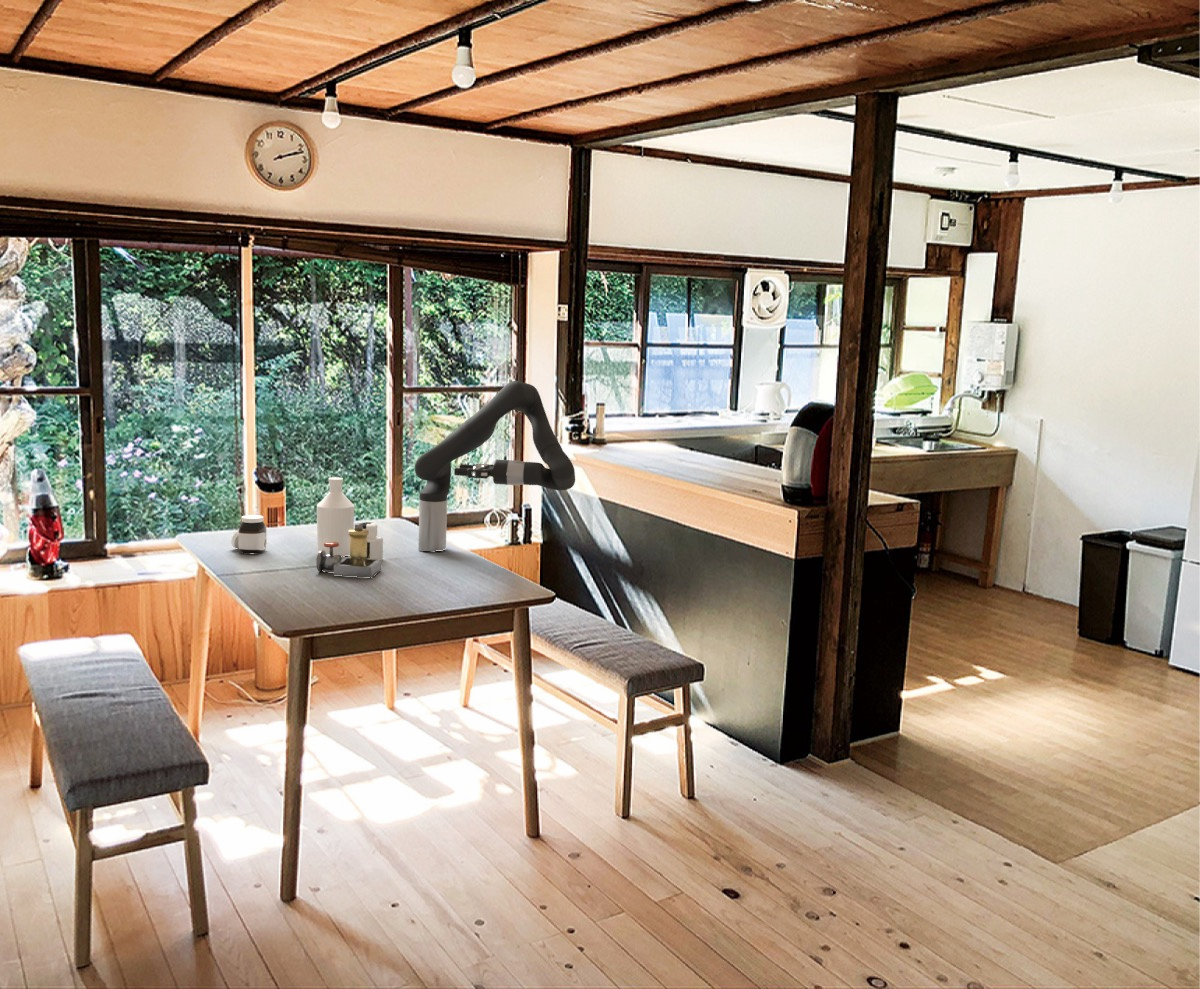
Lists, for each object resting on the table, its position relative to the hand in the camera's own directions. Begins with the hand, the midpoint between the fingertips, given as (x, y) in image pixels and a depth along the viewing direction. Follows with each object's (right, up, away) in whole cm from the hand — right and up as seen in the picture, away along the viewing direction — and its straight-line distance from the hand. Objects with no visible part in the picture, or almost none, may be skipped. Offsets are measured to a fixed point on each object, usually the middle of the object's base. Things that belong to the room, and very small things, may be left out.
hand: (457, 469), depth 325 cm
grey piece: (-33, -31, -3) cm, 45 cm away
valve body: (-30, -31, -3) cm, 43 cm away
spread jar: (-71, -26, +21) cm, 78 cm away
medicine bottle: (-31, -29, +16) cm, 45 cm away
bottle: (-43, -27, +22) cm, 56 cm away
